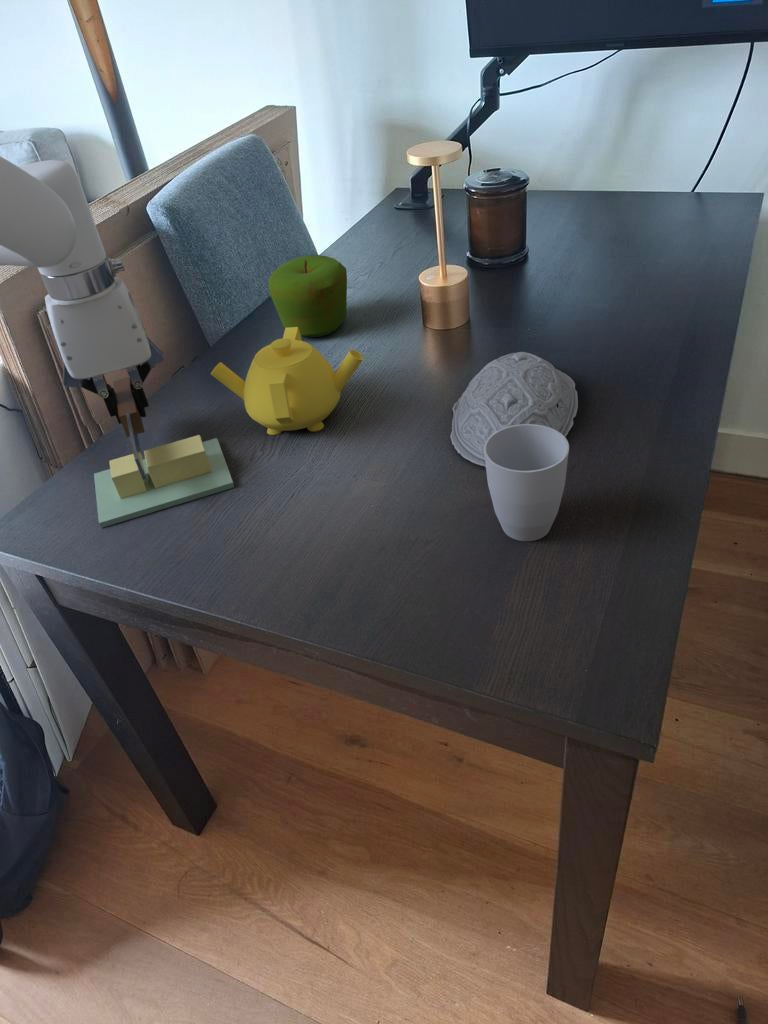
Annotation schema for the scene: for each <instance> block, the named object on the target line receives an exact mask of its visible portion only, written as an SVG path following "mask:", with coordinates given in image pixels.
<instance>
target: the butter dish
mask: <svg viewBox="0 0 768 1024" xmlns="http://www.w3.org/2000/svg"><path fill="white" fill-rule="evenodd" d="M202 443H203V446H204V449H205V452H206V455H207V458H208V461H209V464H210V467H211V472H209V473H205V474H202V475H199V476H195V477H192V478H189V479H185V480H182V481H179V482H175V483H172V484H169V485H165V486H162V487H159V488H155V487H154V484H153V481H152V479H151V476H150V474H149V471H148V469H147V464H146V460H145V458H142V460H143V465H144V470H145V475H146V480H145V484H146V489H147V491H146V492H142V493H139V494H136V495H132V496H129V497H126V498H122V499H120V497H119V494H118V492H117V490H116V487H115V485H114V483H113V480H112V478H111V471H110V468H109V469H105V470H101V471H99V472H95V473H93V479H94V489H95V498H96V511H97V518H98V519H97V520H98V524H99V527H100V528H101V529H103V528H106V527H109V526H113V525H116V524H119V523H123V522H127V521H129V520H132V519H135V518H139V517H142V516H145V515H149V514H152V513H156V512H158V511H161V510H165V509H169V508H171V507H175V506H178V505H182V504H184V503H188V502H191V501H195V500H198V499H200V498H205V497H208V496H210V495H214V494H217V493H220V492H224V491H227V490H230V489H233V488H235V483H234V480H233V478H232V475H231V472H230V469H229V466H228V464H227V461H226V459H225V456H224V453H223V450H222V447H221V445H220V442H219V439H218V437H214V438H212V439H207V440H205V441H202Z"/></svg>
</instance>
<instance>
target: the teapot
mask: <svg viewBox="0 0 768 1024" xmlns="http://www.w3.org/2000/svg"><path fill="white" fill-rule="evenodd" d="M364 359H365V358H364V356H363V355H362V354H361V353H360V352H359V351H357V350H355V349H349V351H348V352H347V354H346V355H345V357H344V359H343V360H342V362H341V363H340V365H339V366H338V368H337V370H336V371H335V370H334V368H333V366H332V365H331V364H330V363H329V361H328V360H327V359H326V358H325V357H324V356H323V355H322V354H321V353H320V352H319V351H318V350H317V349H316V348H315V347H314V346H313V345H311V344H310V343H308V342H306V341H303V338H302V336H301V335H300V332H299V329H298V327H290V328H284V332H283V336H282V338H276V339H275V340H273V341H272V342H271V343H270V344H268V345H265V346H264V347H262V348H261V349H259V350H258V351H257V353H256V354H255V355H254V357H253V359H252V361H251V363H250V366H249V369H248V371H247V374H246V377H245V380H244V379H243V378H241V377H240V376H239V375H237V373H235V372H234V371H233V370H231V369H230V368H229V367H228V366H227V365H226V364H224V363H223V362H221V361H220V362H219V363H218V364H216V366H214V367H213V370H212V371H211V372H210V375H211V376H212V377H213V378H215V379H216V380H217V381H218V382H220V383H221V384H222V385H224V386H225V387H226V388H228V389H229V390H230V391H231V392H233V393H234V394H235V395H237V397H239V398H240V399H242V400H243V403H244V409H245V411H246V414H248V416H249V417H250V418H251V420H253V421H255V422H256V423H258V424H259V425H261V426H263V427H265V428H267V429H266V433H267V434H268V435H269V436H275V435H279V434H281V433H282V432H284V431H285V432H287V431H297V430H303V429H307V430H308V431H310V432H318V431H320V430H322V429H324V427H325V425H324V423H323V421H324V420H325V419H326V418H328V417H329V416H330V414H332V412H333V411H334V410H335V408H336V407H337V405H338V403H339V401H340V400H341V395H342V390H343V389H344V388H345V386H346V384H347V383H348V382H349V380H350V379H351V378H352V377H353V375H354V373H355V372H356V370H357V369H358V368H359V366H360V365H361V363H362V362H363V361H364Z"/></svg>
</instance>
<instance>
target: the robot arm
mask: <svg viewBox="0 0 768 1024" xmlns="http://www.w3.org/2000/svg"><path fill="white" fill-rule="evenodd" d="M0 266H12V267H13V266H15V267H27V268H37V270H38V272H39V275H40V277H41V279H42V282H43V284H44V286H45V289H46V291H47V295H45V296H44V301H45V309H46V312H47V316H48V320H49V323H50V326H51V330H52V334H53V336H54V339H55V342H56V346H57V347H58V348H57V349H58V350H59V353H60V356H61V358H62V361H63V370H62V384H63V386H64V387H68V388H76V389H80V388H82V389H84V390H86V391H89V392H90V393H94V394H95V395H97V396H99V398H100V399H103V401H104V405H105V406H106V409H107V411H108V414H109V416H110V417H111V418H112V417H115V418H116V420H117V422H118V425H122V423H121V421H120V418H119V414H118V408H117V400H116V394H115V391H114V387H112V386H111V385H110V384H109V383H108V382H107V380H106V377H105V375H106V374H109V373H114V372H118V371H121V370H125V369H126V372H127V374H128V377H130V383H129V384H130V389H131V393H132V396H133V399H134V400H135V402H136V405H137V408H138V410H139V413H140V416H141V418H146V417H147V414H146V409H145V408H148V407H150V405H149V401H148V399H147V396H146V393H145V390H144V382H145V380H146V379H147V377H148V375H149V374H150V372H151V371H152V369H155V368H156V367H157V366H159V364H161V363H162V362H163V361H164V359H165V357H164V354H163V352H162V351H161V349H160V348H158V347H157V345H156V344H155V343H154V342H153V341H152V340H151V339H150V338H149V337H148V334H147V332H146V328H145V326H144V323H143V321H142V319H141V316H140V314H139V311H138V308H137V306H136V303H135V302H134V299H133V297H132V295H131V293H130V292H129V289H128V288H127V286H126V284H125V282H124V280H123V279H122V278H121V277H119V276H117V274H119V273H120V272H124V271H125V266H124V264H123V261H122V258H117V259H115V258H112V259H111V257H109V256H108V255H107V253H106V251H105V247H104V244H103V242H102V239H101V236H100V234H99V231H98V228H97V225H96V222H95V219H94V217H93V214H92V210H91V208H90V205H89V202H88V200H87V197H86V194H85V191H84V189H83V185H82V182H81V180H80V177H79V175H78V172H77V171H76V169H75V168H74V167H73V166H72V165H71V164H70V163H68V162H67V161H64V160H58V159H48V160H40V161H36V162H31V163H27V164H24V165H21V166H18V165H16V164H15V163H13V162H11V161H10V160H8V159H6V158H4V157H3V156H0Z"/></svg>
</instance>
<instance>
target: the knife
mask: <svg viewBox="0 0 768 1024" xmlns="http://www.w3.org/2000/svg"><path fill="white" fill-rule="evenodd" d="M129 383H130V377H129V376H128V377H124V378H121V379H117V380H113V381H112V384H113V388H114V391H115V394H116V400H117V408H118V414H119V418H120V421H121V425H122V429H123V431H124V433H125V436H126V437H127V438H128V437H130V443H131V447H132V454H134V459H135V462H136V464H137V467H138V469H139V472H140V474H141V477H142V479H143V480H146V475H145V470H144V465H143V460H142V459H143V455H142V452H141V447H140V446H141V445H140V442H139V436H138V435H139V434H143V433H145V428H144V423H143V419H142V417H141V416H140V413H139V410H138V408H137V405H136V402H135V400H134V399H133V396H132V393H131V389H130V384H129Z"/></svg>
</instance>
